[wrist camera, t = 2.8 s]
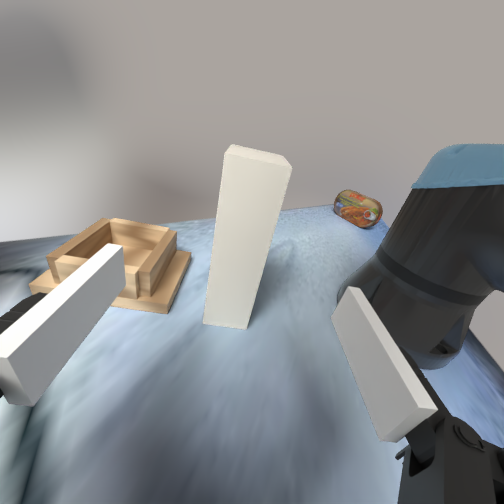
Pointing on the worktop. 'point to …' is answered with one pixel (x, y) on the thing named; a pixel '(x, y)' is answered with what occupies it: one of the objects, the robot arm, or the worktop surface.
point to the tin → (358, 208)
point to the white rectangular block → (243, 232)
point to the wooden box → (125, 262)
